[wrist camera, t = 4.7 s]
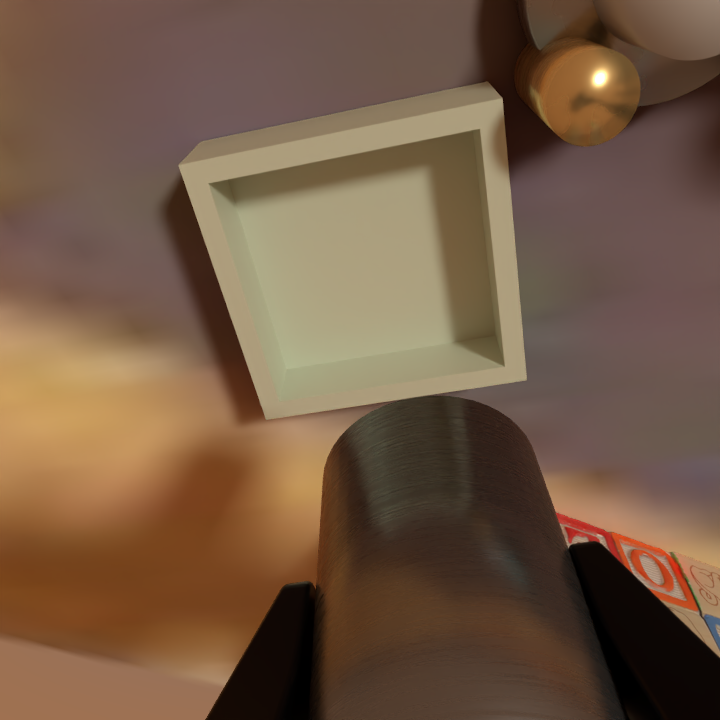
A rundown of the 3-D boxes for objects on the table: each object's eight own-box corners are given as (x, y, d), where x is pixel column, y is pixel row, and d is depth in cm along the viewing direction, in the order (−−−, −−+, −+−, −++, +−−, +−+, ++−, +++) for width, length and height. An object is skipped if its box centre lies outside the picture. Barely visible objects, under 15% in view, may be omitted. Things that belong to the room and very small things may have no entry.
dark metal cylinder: (543, 541, 12) (732, 1138, 6) (347, 569, 12) (338, 1158, 6) (530, 378, 10) (791, 1012, 4) (300, 416, 10) (224, 1050, 4)
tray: (512, 339, 22) (526, 380, 20) (276, 377, 23) (266, 420, 21) (487, 81, 18) (502, 98, 16) (200, 141, 19) (178, 165, 17)
